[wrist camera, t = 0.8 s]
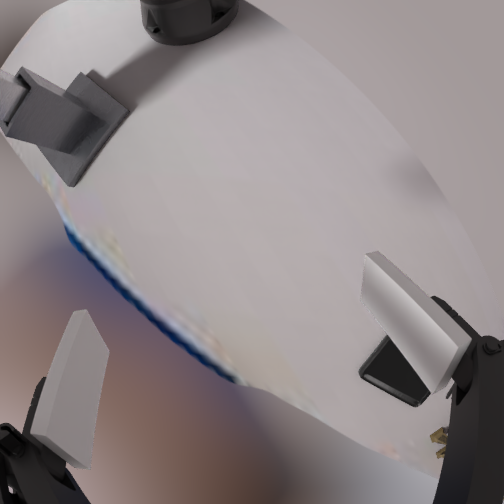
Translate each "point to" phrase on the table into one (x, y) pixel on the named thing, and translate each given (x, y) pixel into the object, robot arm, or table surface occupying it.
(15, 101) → the column
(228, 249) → the table surface
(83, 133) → the jack stand base
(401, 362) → the phone
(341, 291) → the table surface
